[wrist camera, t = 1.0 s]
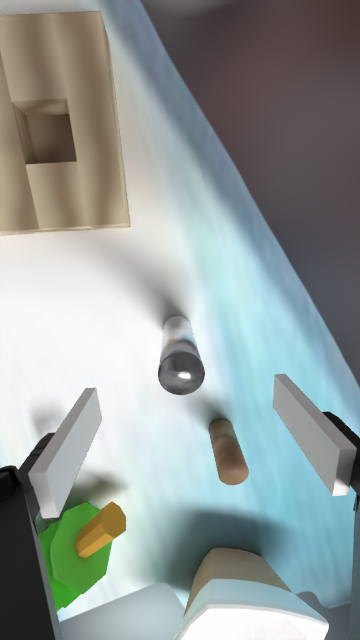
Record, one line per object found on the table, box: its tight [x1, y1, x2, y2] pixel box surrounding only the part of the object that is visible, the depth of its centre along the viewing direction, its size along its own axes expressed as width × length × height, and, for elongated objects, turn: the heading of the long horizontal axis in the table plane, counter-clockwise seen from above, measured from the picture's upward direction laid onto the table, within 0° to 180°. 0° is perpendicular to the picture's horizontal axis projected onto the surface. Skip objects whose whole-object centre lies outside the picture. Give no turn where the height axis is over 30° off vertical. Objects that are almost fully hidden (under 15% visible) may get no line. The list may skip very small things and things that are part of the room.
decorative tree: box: [38, 502, 126, 612], centre depth 37 cm, size 11×12×30 cm
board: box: [0, 11, 130, 235], centre depth 24 cm, size 24×18×3 cm
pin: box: [158, 316, 205, 395], centre depth 26 cm, size 4×4×13 cm
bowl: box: [173, 548, 329, 640], centre depth 42 cm, size 24×25×11 cm
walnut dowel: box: [209, 419, 249, 485], centre depth 33 cm, size 4×4×8 cm
